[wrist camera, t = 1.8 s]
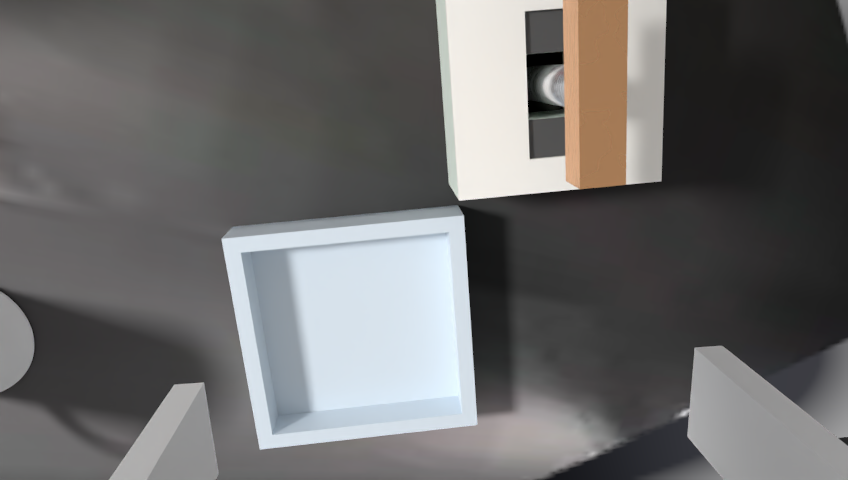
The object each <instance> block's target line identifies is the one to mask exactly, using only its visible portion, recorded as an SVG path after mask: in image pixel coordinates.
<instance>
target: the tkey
mask: <svg viewBox="0 0 848 480" xmlns="http://www.w3.org/2000/svg"><path fill="white" fill-rule="evenodd" d="M563 43H564V64H560V65H537V66H530V67H528V68H527V96H528V100H530V101H536V102H541V103H546V104H552V105H557V106H563V107H565V164H566V181H567V182H568V183H570V184H572V185H573V186H575V187H577V188H579V189H588V188H598V187H609V186H619V185H626V142H627V56H628V0H563Z"/></svg>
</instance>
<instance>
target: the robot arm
mask: <svg viewBox="0 0 848 480" xmlns="http://www.w3.org/2000/svg"><path fill="white" fill-rule="evenodd" d="M687 437H688V438H689V439H690V440H691V441H692V443H693V444H694V445H695V446H696V447H697V448H698V450H699V451H700V452H701V453H702V454H703V456H704V457H705V458H706V459H707V460H708V461H709V463H710V464H711V465H712V466H713V468H714V469H715V470H716V471H717V472H718V473H719V475H721V477H722V478H723V479H724V480H848V437H844V438H837V437H836V436H835V435H834V434H832V433H831V432H830V431H828V430H827V429H826V428H825V427H824V426H822V425H821V424H820V423H819V422H817V421H816V420H815V419H813V418H812V417H811V416H810V415H808V414H807V413H806V412H805V411H803V410H802V409H801V408H800V407H798V406H797V405H796V404H795V403H793V402H792V401H791V400H789V399H788V398H787V397H786V396H785V395H783V394H782V393H781V392H780V391H778V390H777V389H776V388H774V387H773V386H772V385H771V384H770V383H768V382H767V381H766V380H765V379H763V378H762V377H761V376H760V375H758V374H757V373H756V372H755V371H753V370H752V369H751V368H750V367H748V366H747V365H746V364H745V363H743V362H742V361H741V360H739V359H738V358H737V357H736V356H734V355H733V354H732V353H731V352H729V351H728V350H727V349H726V348H724V347H723V346H711V347H697V348H695V351H694V363H693V375H692V387H691V399H690V411H689V423H688V435H687ZM217 476H218V467H217V460H216V454H215V448H214V442H213V435H212V429H211V423H210V416H209V410H208V404H207V398H206V391H205V385H204V382H203V383H189V384H175V385H174V386H173V387H172V389H171V390H170V391H169V393H168V394H167V396H166V397H165V399H164V400H163V402H162V403H161V405H160V406H159V408H158V409H157V410H156V412H155V413H154V415H153V416H152V418H151V419H150V421H149V422H148V424H147V425H146V427H145V428H144V430H143V431H142V432H141V434H140V435H139V437H138V438H137V440H136V441H135V443H134V444H133V446H132V447H131V449H130V450H129V451H128V453H127V454H126V456H125V457H124V459H123V460H122V462H121V463H120V465H119V466H118V468H117V469H116V470H115V472H114V473H113V475H112V476H111V478H110V479H109V480H216V478H217Z"/></svg>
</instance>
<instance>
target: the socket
mask: <svg viewBox="0 0 848 480" xmlns="http://www.w3.org/2000/svg"><path fill="white" fill-rule="evenodd" d="M666 3H667V0H628V56H627V142H626V185H628V184H639V183H649V182H660V181H661V180H662V144H663V109H664V74H665V38H666ZM436 10H437V24H438V38H439V52H440V66H441V80H442V94H443V108H444V122H445V136H446V150H447V164H448V178H449V185H450V186H451V188H452V190H453V191H454V193H455V195H456V196H457V198H458V199H459V201H461V200H471V199H481V198H492V197H502V196H513V195H523V194H534V193H544V192H555V191H565V190H576V189H579V188H577V187H575V186H573V185H572V184H570V183H568V182H567V181H566V164H565V107H563V109H562V110H551V111H540V112H529V113H528V96H527V65H526V55H530V54H542V53H554V52H562V64H564V43H563V0H436Z"/></svg>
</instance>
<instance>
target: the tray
mask: <svg viewBox="0 0 848 480" xmlns="http://www.w3.org/2000/svg"><path fill="white" fill-rule="evenodd" d="M222 244H223V250H224V255H225V261H226V266H227V272H228V277H229V283H230V288H231V294H232V299H233V305H234V310H235V316H236V321H237V326H238V332H239V337H240V343H241V348H242V354H243V359H244V365H245V370H246V376H247V381H248V387H249V392H250V398H251V403H252V409H253V414H254V420H255V425H256V431H257V436H258V442H259V447H260V449H269V448H277V447H286V446H295V445H304V444H313V443H322V442H330V441H339V440H348V439H357V438H366V437H375V436H384V435H392V434H401V433H410V432H419V431H428V430H437V429H446V428H454V427H463V426H472V425H477V410H476V394H475V379H474V364H473V348H472V333H471V318H470V302H469V287H468V272H467V256H466V241H465V225H464V215H463V213H462V211H461V210H460V208H459V206H458V205H454V206H444V207H433V208H423V209H412V210H402V211H391V212H381V213H371V214H360V215H350V216H339V217H329V218H318V219H308V220H298V221H287V222H277V223H266V224H256V225H245V226H235V227H232V228H231V229H230V230H229V231H228V233H227V234H226V235H225V236H224V237H223V238H222Z"/></svg>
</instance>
